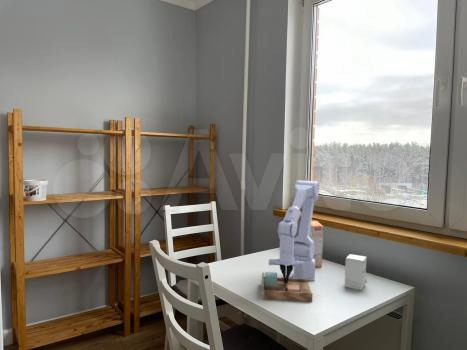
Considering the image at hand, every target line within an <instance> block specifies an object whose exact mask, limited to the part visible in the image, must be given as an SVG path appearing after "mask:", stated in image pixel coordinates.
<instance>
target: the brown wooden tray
mask: <svg viewBox="0 0 467 350" xmlns="http://www.w3.org/2000/svg"><path fill="white" fill-rule="evenodd" d="M287 285H299V289H300V292H287ZM260 289H261V290H260V291H261V292H260V299H263V300H277V301H280V300H281V301H293V302H294V301H295V302H296V301H297V302H307V303H308V302H311V303H312V302H313V294H314V293H313V292H312V291H311V287H310V283H309V280H308V279H297V278H293V277H289V279H288V284H286V283H284V278H283V277H278V276H277V286H265V272H261V285H260Z"/></svg>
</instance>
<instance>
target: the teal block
mask: <svg viewBox="0 0 467 350" xmlns="http://www.w3.org/2000/svg"><path fill="white" fill-rule="evenodd" d="M264 277H265V286H277V277H278V273H277V272H273V271H265V272H264Z"/></svg>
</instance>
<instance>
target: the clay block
mask: <svg viewBox="0 0 467 350" xmlns="http://www.w3.org/2000/svg"><path fill="white" fill-rule="evenodd" d="M287 292H300V289H299V285H287Z"/></svg>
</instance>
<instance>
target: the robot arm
mask: <svg viewBox="0 0 467 350" xmlns="http://www.w3.org/2000/svg"><path fill="white" fill-rule="evenodd" d="M294 193H295V195H294V198H293V200H292V201H293V202H292V205H291V206H289V207H288V209H287V210H286V213H285V215H284V218H283V220H282V221H280V222H279V223H278V225H277V233H278V239H279V258H274V259H273V258H272V259H270V258H269V259H268V266H279V269H280V272H281V275H282V278H284V283H286V284H288V279H289V278H290V275H292V278H297V279H308V281H312V282H313V281H314V282H315V281H316V277H315V276H316V267H315V259H312V258H313V256H314V253H315V248H314V246H315V244H314V242H313V240H312V239H311V238H310V237H309V235H310V228H311V221H313V215H314V214H313V212H314V206H315V202H316V201H318V199H319V195H320V183H319V182H318V180H315V181H314V180H299V179H298V180H296V181H295V184H294ZM301 208H302V209H301ZM299 220H300V222H299ZM298 222H299V226H298ZM298 227H299V230H298ZM297 231H298V235H297ZM295 236H296V237H295ZM306 243H308V244H309V245H308V244H306Z"/></svg>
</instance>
